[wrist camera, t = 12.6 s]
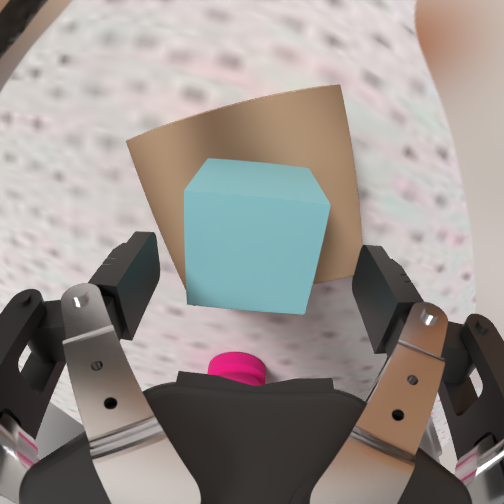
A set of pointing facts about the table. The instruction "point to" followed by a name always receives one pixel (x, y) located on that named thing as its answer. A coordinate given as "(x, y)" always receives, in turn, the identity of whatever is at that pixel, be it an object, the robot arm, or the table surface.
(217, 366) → the pepper mill
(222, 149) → the walnut box
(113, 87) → the table surface
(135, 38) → the table surface
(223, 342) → the table surface
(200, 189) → the teal cube
